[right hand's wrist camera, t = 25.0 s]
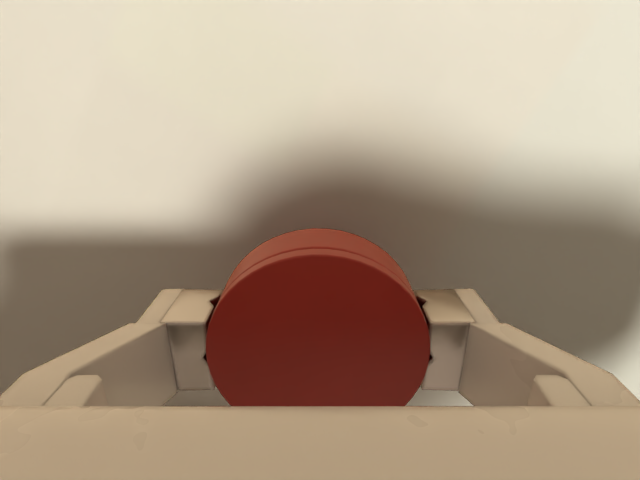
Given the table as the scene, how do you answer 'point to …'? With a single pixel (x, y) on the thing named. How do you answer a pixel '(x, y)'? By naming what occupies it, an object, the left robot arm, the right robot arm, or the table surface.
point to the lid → (318, 326)
